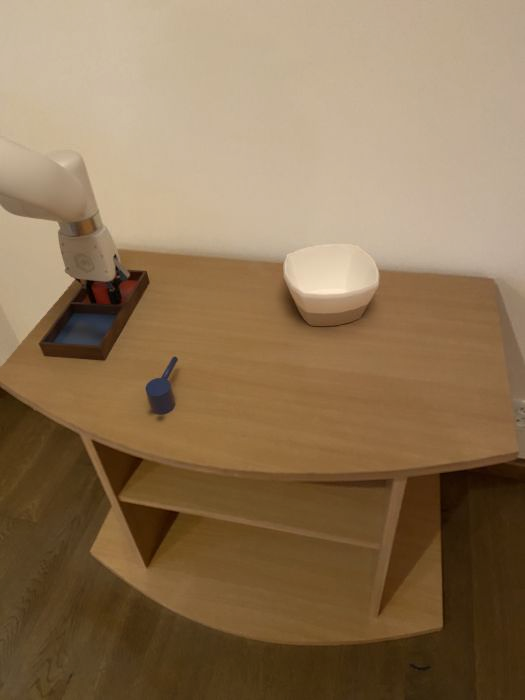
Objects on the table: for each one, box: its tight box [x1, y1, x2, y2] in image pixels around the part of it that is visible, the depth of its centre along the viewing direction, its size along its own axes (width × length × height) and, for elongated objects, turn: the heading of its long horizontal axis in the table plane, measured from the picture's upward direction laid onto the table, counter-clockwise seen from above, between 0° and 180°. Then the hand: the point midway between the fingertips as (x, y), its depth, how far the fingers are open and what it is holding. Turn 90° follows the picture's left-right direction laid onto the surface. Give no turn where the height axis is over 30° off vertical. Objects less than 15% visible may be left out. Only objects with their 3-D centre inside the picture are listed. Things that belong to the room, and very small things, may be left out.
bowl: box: [282, 243, 381, 327], centre depth 98 cm, size 18×18×9 cm
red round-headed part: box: [91, 272, 117, 304], centre depth 106 cm, size 10×4×4 cm, turn 165°
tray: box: [38, 269, 151, 361], centre depth 102 cm, size 25×12×3 cm, turn 170°
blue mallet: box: [145, 356, 179, 415], centre depth 85 cm, size 10×4×4 cm, turn 165°
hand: (106, 301), depth 105 cm, fingers closed on red round-headed part, 4 cm apart
